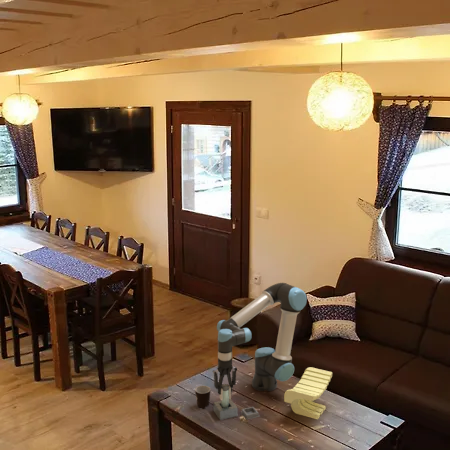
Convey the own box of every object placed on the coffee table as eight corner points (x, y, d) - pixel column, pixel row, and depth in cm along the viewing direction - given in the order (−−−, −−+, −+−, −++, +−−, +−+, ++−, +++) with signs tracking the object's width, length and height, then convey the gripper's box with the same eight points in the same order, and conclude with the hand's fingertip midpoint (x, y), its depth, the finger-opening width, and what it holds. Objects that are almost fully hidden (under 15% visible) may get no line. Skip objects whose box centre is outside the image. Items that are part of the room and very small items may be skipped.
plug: (229, 407, 305) (229, 386, 303) (223, 408, 304) (223, 388, 301) (227, 403, 309) (227, 383, 306) (220, 405, 307) (220, 384, 305)
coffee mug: (208, 410, 312) (208, 394, 310) (193, 409, 314) (193, 392, 312) (213, 399, 323) (213, 383, 321) (198, 398, 325) (198, 382, 323)
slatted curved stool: (304, 394, 329) (305, 365, 325) (331, 401, 321) (332, 372, 317) (283, 419, 303) (284, 388, 299) (312, 427, 295) (312, 396, 292)
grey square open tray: (253, 410, 312) (253, 405, 311) (260, 418, 304) (260, 412, 304) (240, 413, 309) (240, 408, 308) (246, 421, 301) (246, 416, 301)
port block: (230, 408, 314) (230, 398, 313) (237, 417, 305) (237, 407, 303) (213, 412, 310) (213, 402, 309) (220, 421, 301) (220, 411, 300)
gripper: (236, 352, 307) (236, 392, 312) (207, 357, 300) (207, 398, 305) (242, 358, 300) (242, 398, 305) (212, 363, 294) (212, 404, 299)
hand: (225, 398), depth 305 cm, fingers closed on plug, 4 cm apart
